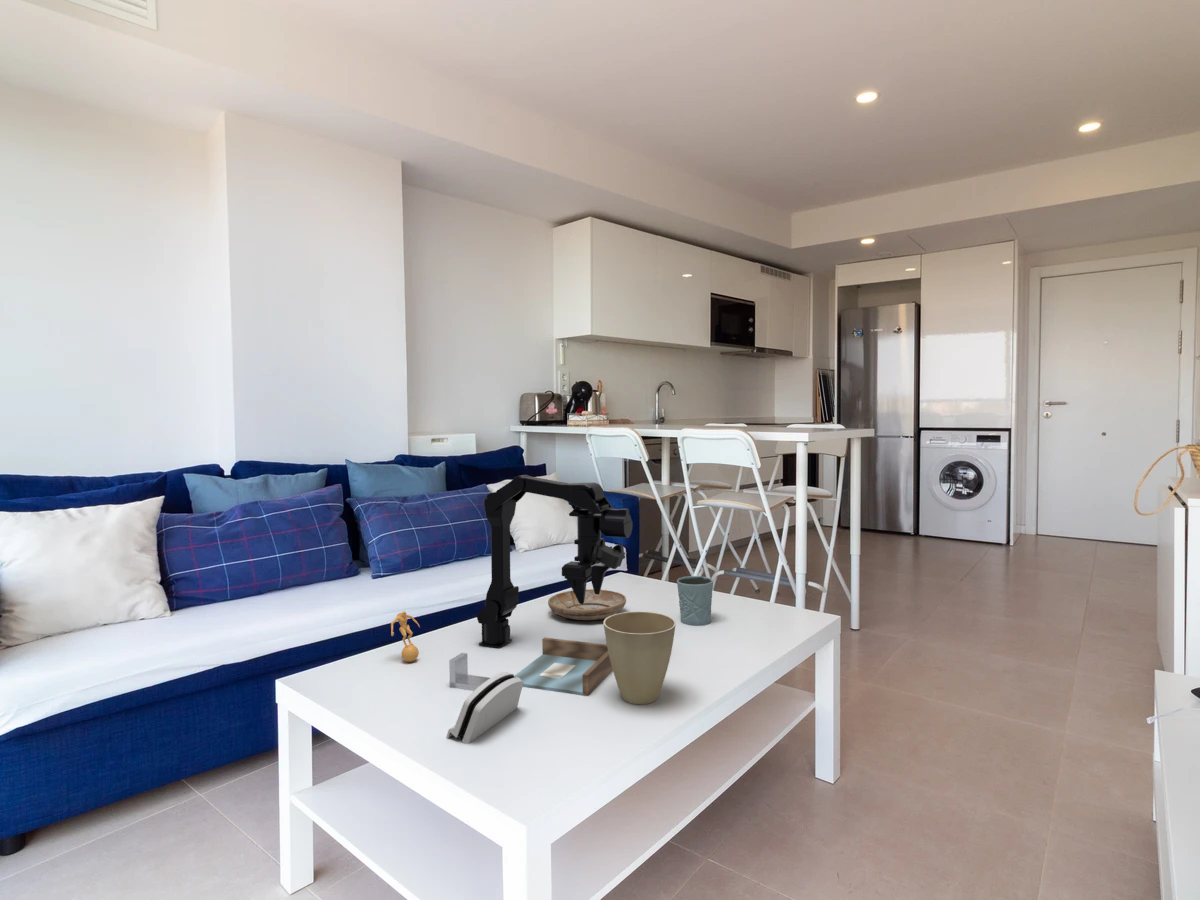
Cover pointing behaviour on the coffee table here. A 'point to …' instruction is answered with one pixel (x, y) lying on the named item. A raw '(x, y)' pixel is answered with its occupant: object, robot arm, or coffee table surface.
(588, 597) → the ceramic bowl
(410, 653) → the figurine
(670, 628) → the plant pot
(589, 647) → the corner arena
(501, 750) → the coffee table surface
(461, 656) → the aluminium bracket
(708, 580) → the embossed green cup
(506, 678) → the grey arched casing
